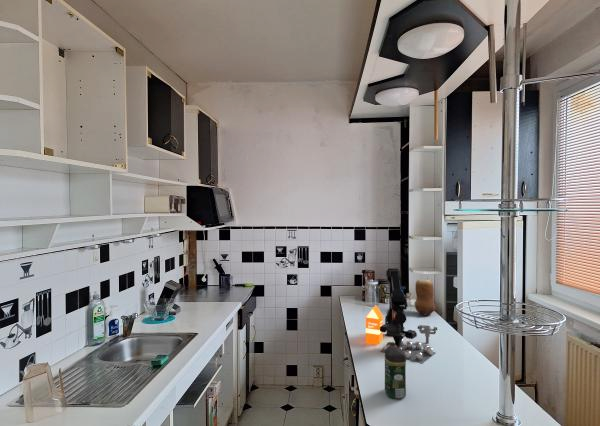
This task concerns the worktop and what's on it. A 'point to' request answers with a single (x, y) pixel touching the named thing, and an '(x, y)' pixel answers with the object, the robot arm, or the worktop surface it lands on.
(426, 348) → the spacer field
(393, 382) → the coffee jar
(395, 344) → the nut
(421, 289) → the butternut squash
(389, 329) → the robot arm
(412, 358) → the mat
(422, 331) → the mechanical component
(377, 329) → the orange juice
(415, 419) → the worktop surface
